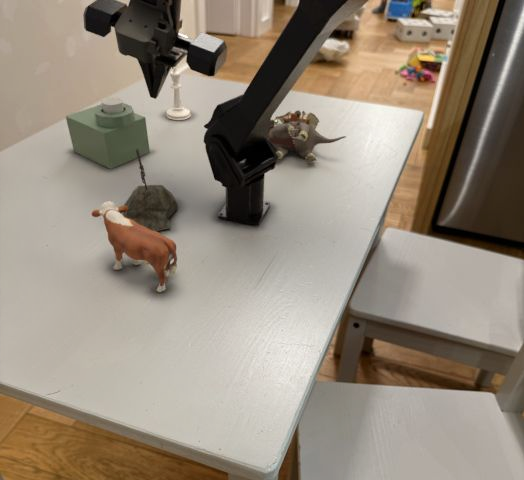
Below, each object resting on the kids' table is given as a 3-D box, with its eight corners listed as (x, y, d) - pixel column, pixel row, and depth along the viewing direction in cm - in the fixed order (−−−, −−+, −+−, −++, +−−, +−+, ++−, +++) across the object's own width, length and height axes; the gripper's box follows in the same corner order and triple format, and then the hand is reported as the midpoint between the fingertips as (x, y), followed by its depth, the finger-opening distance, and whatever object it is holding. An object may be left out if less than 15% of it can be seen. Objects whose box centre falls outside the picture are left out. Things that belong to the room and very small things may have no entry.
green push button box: (152, 153, 90) (146, 107, 84) (113, 170, 85) (104, 122, 79) (113, 136, 94) (105, 91, 88) (73, 151, 89) (62, 104, 83)
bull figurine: (119, 245, 69) (109, 191, 64) (188, 285, 64) (183, 230, 58) (94, 258, 67) (80, 203, 61) (162, 301, 61) (154, 245, 56)
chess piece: (162, 118, 101) (156, 63, 94) (172, 109, 104) (167, 56, 97) (185, 121, 100) (180, 67, 93) (194, 113, 103) (191, 59, 96)
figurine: (229, 130, 85) (242, 97, 97) (232, 165, 89) (243, 128, 101) (347, 132, 83) (345, 97, 95) (344, 167, 87) (342, 130, 99)
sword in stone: (130, 197, 79) (117, 119, 70) (180, 199, 79) (173, 122, 70) (116, 233, 72) (100, 151, 63) (171, 235, 72) (162, 153, 63)
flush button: (128, 111, 83) (126, 100, 82) (112, 117, 81) (110, 106, 80) (115, 106, 85) (113, 95, 83) (99, 112, 83) (96, 100, 81)
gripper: (56, -34, 57) (68, 98, 69) (208, 23, 57) (193, 145, 70) (101, -57, 64) (105, 67, 76) (237, -6, 64) (219, 109, 76)
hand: (154, 97), depth 74 cm, fingers closed
